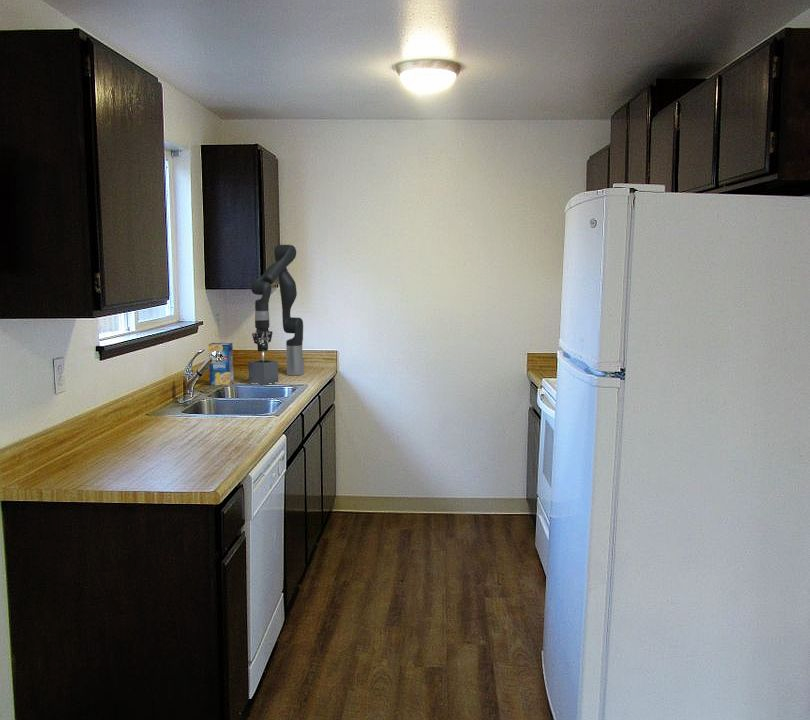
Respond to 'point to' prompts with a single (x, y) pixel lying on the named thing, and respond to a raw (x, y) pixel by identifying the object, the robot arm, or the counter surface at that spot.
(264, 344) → the plunger
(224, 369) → the beverage box
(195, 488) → the counter surface
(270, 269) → the robot arm
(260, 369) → the gray open box
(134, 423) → the counter surface
